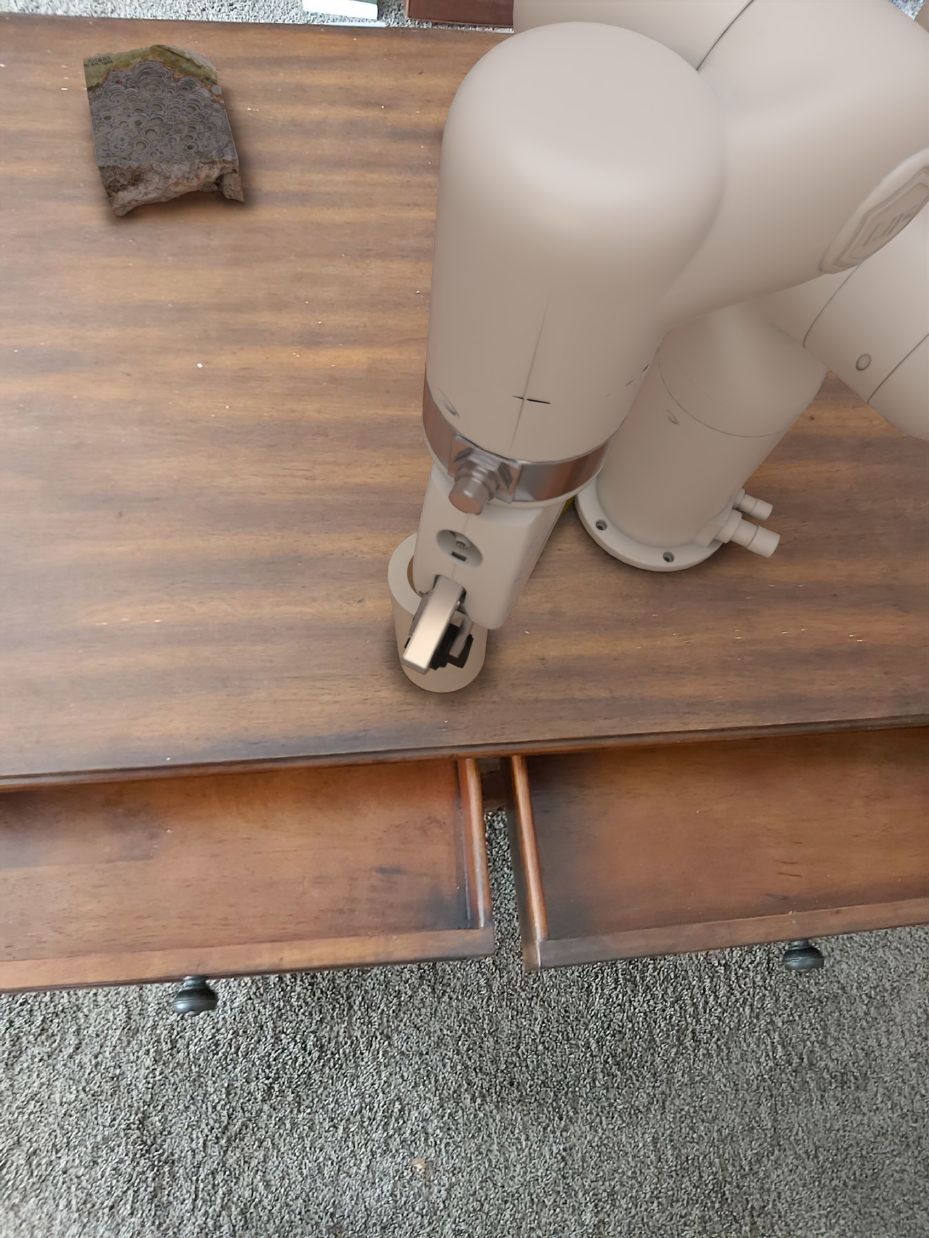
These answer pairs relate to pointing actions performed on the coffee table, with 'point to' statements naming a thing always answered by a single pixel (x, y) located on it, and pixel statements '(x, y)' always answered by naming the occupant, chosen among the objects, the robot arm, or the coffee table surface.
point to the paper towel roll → (403, 613)
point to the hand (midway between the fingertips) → (476, 580)
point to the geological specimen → (159, 126)
